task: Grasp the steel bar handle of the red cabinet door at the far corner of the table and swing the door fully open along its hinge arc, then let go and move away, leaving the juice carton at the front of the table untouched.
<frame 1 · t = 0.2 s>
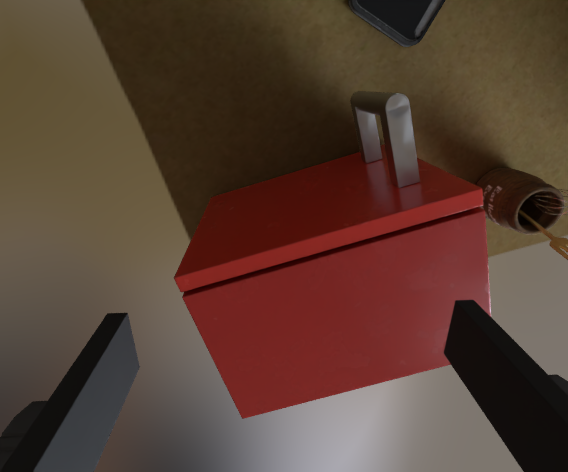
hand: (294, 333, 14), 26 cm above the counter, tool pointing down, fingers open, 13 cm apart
red cabinet door: (299, 165, 29), point 9 cm above the counter, hinge at 0.0°
utensil holder: (494, 192, 40), on the counter
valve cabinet: (314, 230, 41), on the counter
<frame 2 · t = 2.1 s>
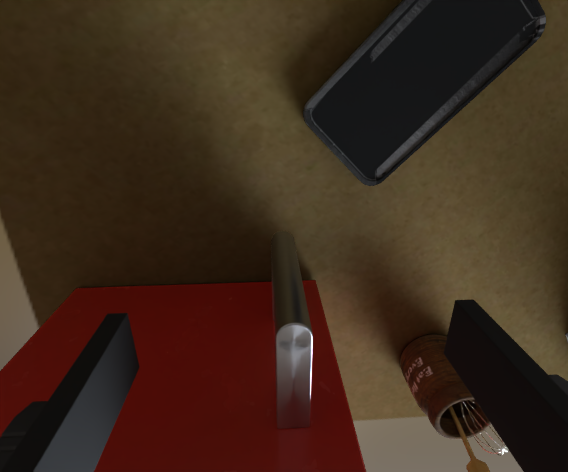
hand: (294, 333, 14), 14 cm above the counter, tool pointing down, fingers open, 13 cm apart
red cabinet door: (166, 326, 20), point 9 cm above the counter, hinge at 0.0°
utensil holder: (426, 355, 34), on the counter
phone: (413, 71, 24), on the counter
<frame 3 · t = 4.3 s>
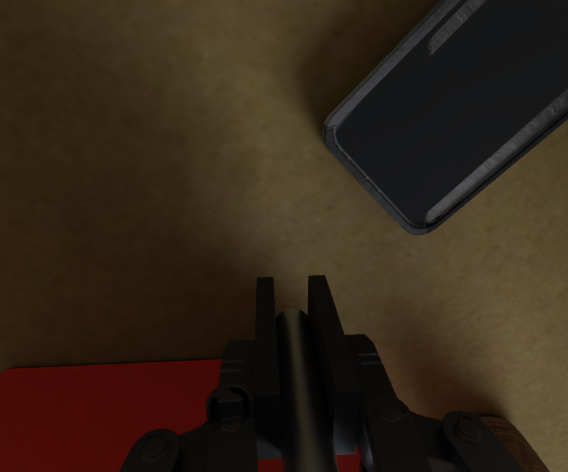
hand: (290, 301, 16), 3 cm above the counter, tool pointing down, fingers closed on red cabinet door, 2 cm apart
utensil holder: (475, 439, 26), on the counter
phone: (485, 70, 16), on the counter
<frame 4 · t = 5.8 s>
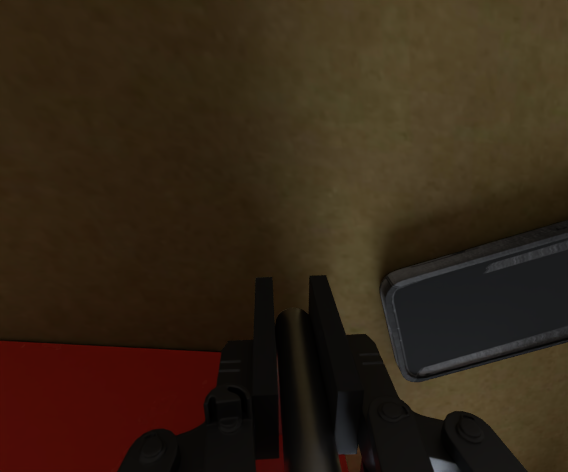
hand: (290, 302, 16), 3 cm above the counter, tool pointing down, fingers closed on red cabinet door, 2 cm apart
red cabinet door: (91, 470, 12), point 9 cm above the counter, hinge at 20.9°, touching gripper
phone: (507, 291, 21), on the counter
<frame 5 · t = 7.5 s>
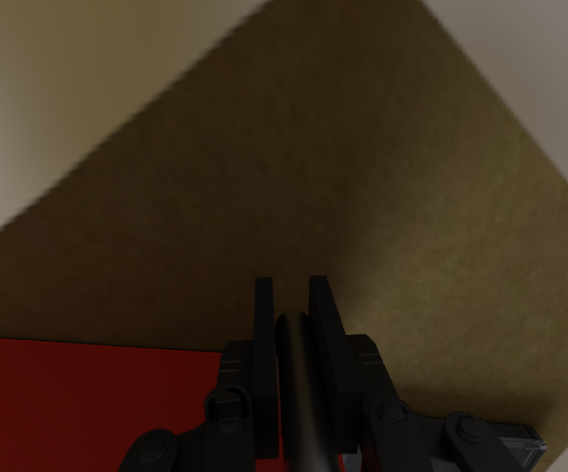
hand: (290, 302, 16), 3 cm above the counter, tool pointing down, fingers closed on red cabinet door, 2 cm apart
red cabinet door: (89, 470, 12), point 9 cm above the counter, hinge at 47.4°, touching gripper
phone: (428, 452, 27), on the counter
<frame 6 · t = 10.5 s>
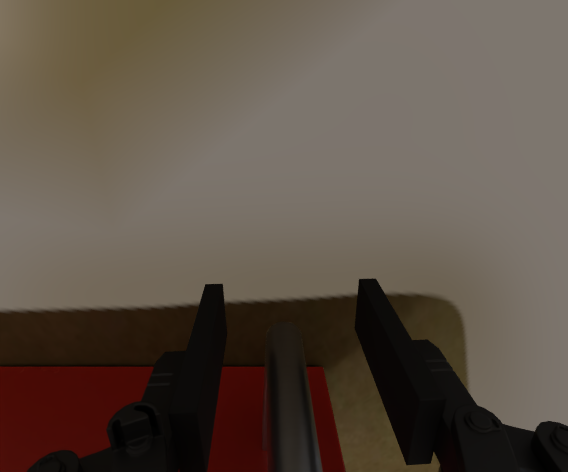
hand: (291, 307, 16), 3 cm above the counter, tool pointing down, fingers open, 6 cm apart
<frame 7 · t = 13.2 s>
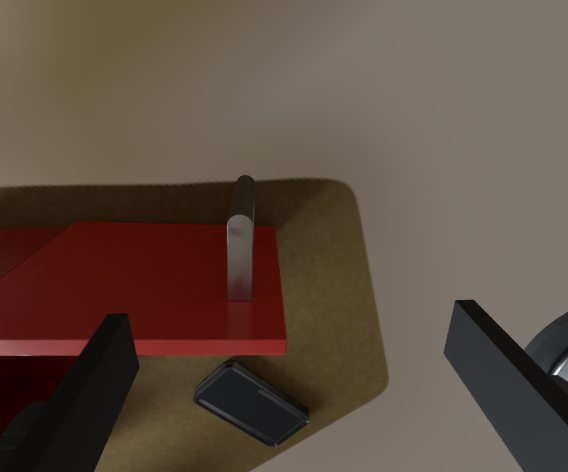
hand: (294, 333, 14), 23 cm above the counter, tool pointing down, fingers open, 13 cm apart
red cabinet door: (151, 235, 27), point 9 cm above the counter, hinge at 86.5°
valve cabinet: (37, 309, 39), on the counter
phone: (253, 401, 47), on the counter
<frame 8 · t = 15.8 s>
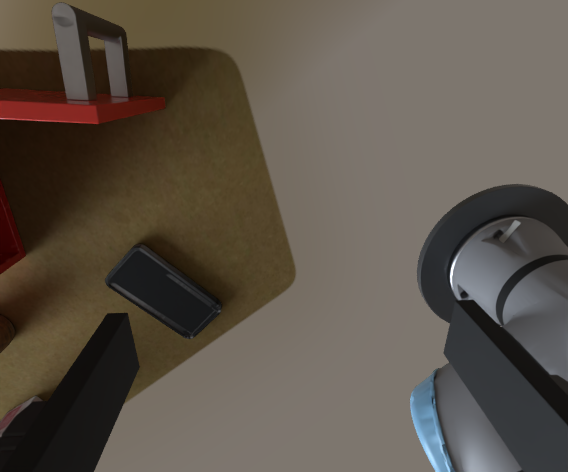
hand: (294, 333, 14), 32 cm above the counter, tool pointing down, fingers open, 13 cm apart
red cabinet door: (14, 61, 29), point 9 cm above the counter, hinge at 86.5°
juice carton: (38, 415, 58), on the counter
phone: (167, 290, 49), on the counter
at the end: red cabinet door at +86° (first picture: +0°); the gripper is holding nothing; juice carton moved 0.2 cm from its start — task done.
